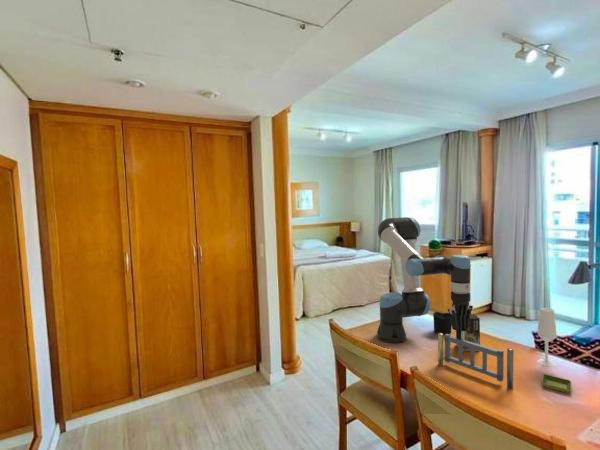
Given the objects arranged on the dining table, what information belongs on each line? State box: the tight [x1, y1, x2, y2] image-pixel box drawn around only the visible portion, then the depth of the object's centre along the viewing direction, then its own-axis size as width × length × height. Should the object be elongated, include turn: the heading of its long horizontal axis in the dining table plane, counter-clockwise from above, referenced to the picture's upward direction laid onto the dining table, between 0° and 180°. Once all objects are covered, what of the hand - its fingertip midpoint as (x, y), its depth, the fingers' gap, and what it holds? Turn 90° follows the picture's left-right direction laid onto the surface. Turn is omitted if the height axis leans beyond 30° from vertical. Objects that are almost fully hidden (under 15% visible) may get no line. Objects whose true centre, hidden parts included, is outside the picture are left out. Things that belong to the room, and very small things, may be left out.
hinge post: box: [506, 348, 514, 390], centre depth 124 cm, size 2×2×15 cm
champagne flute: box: [536, 307, 557, 368], centre depth 141 cm, size 7×7×24 cm
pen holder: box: [432, 311, 452, 336], centre depth 179 cm, size 9×9×10 cm
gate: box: [444, 334, 504, 383], centre depth 135 cm, size 23×2×12 cm, turn 38°
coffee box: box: [455, 313, 481, 352], centre depth 158 cm, size 9×6×16 cm
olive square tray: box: [541, 373, 572, 394], centre depth 125 cm, size 9×9×2 cm
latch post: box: [437, 333, 444, 367], centre depth 143 cm, size 2×2×14 cm
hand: (460, 345), depth 140 cm, fingers closed
